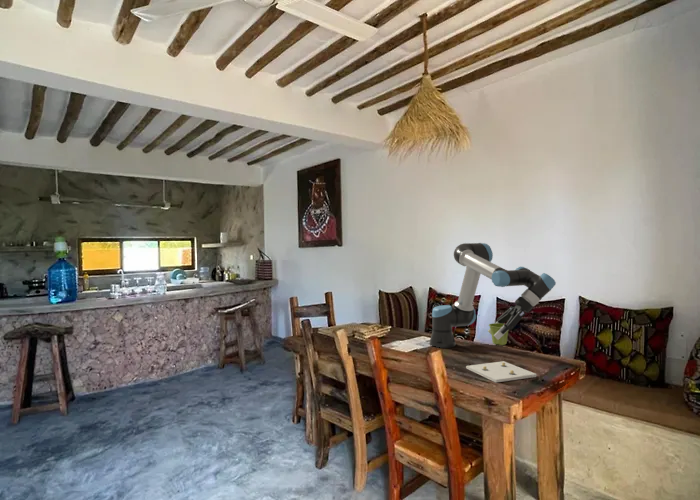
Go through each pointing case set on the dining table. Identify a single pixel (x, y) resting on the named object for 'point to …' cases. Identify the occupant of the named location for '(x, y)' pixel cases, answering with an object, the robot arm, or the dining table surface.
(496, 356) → the dining table surface
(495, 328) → the plant pot
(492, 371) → the pin board
